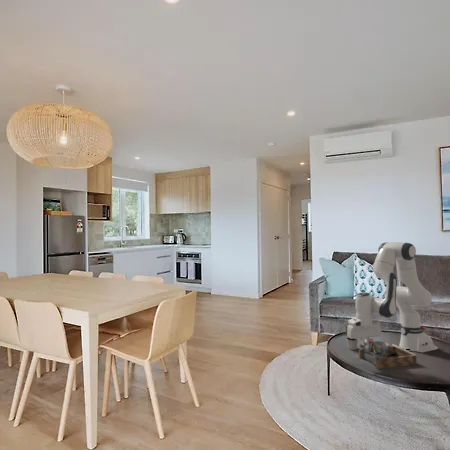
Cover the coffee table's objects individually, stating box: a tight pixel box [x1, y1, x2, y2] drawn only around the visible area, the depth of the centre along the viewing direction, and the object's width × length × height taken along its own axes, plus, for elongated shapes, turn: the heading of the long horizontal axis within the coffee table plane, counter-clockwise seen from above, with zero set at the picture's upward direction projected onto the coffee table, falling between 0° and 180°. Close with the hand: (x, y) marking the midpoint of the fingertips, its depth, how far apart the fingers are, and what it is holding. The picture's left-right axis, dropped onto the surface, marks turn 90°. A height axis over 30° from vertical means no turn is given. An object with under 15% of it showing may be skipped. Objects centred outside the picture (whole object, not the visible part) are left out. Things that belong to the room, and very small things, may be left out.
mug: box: [373, 340, 391, 358], centre depth 194 cm, size 12×9×11 cm
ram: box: [359, 337, 383, 366], centre depth 193 cm, size 3×19×13 cm, turn 11°
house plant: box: [342, 324, 359, 351], centre depth 217 cm, size 14×14×16 cm
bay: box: [358, 343, 418, 370], centre depth 195 cm, size 25×19×6 cm
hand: (364, 344), depth 193 cm, fingers closed
